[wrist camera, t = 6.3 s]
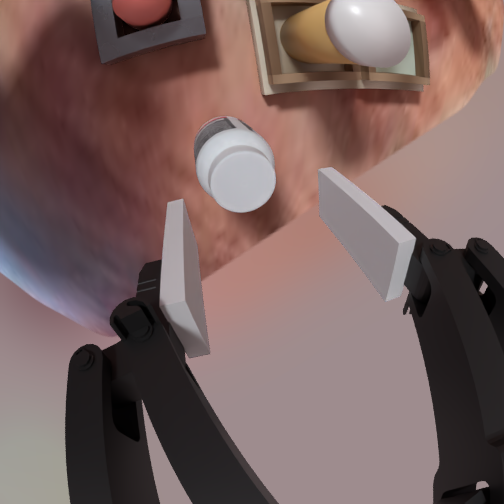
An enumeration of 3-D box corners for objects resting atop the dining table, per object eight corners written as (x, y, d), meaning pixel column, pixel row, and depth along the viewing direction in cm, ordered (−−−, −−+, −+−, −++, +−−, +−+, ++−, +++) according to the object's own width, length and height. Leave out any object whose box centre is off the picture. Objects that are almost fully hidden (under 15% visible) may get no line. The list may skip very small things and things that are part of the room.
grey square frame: (111, 64, 17) (101, 63, 15) (98, -9, 12) (88, -17, 10) (204, 38, 18) (206, 33, 15) (190, -35, 13) (191, -47, 11)
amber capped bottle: (283, 66, 19) (342, 65, 12) (274, 12, 16) (329, -19, 8) (337, 64, 20) (413, 71, 12) (331, 13, 17) (405, -4, 9)
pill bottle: (192, 171, 25) (195, 223, 17) (196, 113, 22) (200, 135, 14) (249, 172, 26) (280, 223, 18) (257, 117, 23) (295, 143, 15)
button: (127, 35, 15) (116, 28, 12) (121, -2, 13) (109, -15, 10) (176, 22, 16) (173, 11, 13) (169, -16, 13) (166, -32, 10)
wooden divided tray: (261, 94, 22) (269, 96, 20) (244, -7, 16) (251, -15, 14) (416, 89, 23) (432, 93, 21) (409, 10, 17) (425, 9, 15)
